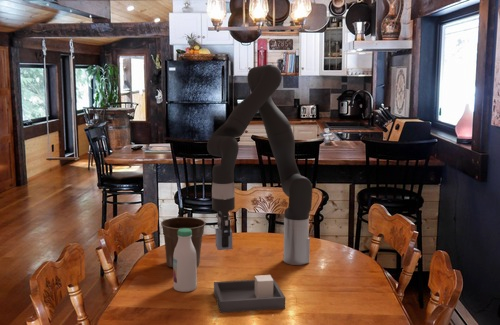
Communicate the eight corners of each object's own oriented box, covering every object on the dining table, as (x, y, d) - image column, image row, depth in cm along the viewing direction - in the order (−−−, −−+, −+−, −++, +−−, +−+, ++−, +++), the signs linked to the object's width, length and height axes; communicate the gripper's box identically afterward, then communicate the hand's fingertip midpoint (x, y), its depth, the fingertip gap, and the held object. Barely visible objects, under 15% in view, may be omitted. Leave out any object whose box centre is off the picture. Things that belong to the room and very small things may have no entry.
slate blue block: (230, 244, 196) (230, 227, 195) (232, 249, 191) (232, 231, 190) (215, 245, 195) (215, 228, 194) (217, 250, 190) (217, 232, 189)
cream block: (254, 293, 184) (254, 275, 183) (269, 292, 185) (270, 274, 184) (257, 299, 179) (257, 281, 178) (273, 298, 180) (273, 280, 179)
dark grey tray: (273, 288, 191) (273, 278, 190) (285, 308, 175) (285, 297, 175) (213, 292, 187) (213, 281, 187) (220, 312, 172) (220, 301, 171)
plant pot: (200, 255, 223) (199, 215, 220) (210, 269, 208) (210, 226, 205) (158, 259, 218) (157, 218, 215) (165, 274, 203) (165, 230, 200)
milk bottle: (200, 285, 193) (200, 227, 189) (190, 293, 186) (190, 234, 182) (179, 282, 195) (179, 225, 192) (169, 290, 188) (168, 231, 185)
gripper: (209, 191, 196) (210, 239, 199) (214, 201, 183) (215, 252, 186) (231, 190, 198) (231, 237, 201) (238, 199, 184) (238, 250, 187)
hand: (224, 244), depth 193 cm, fingers closed on slate blue block, 5 cm apart
